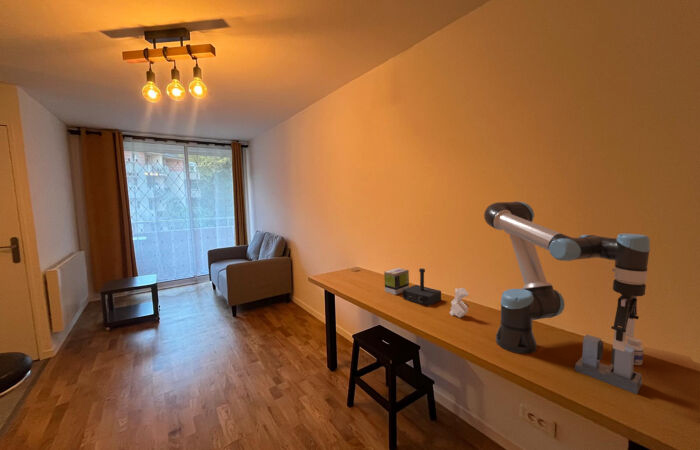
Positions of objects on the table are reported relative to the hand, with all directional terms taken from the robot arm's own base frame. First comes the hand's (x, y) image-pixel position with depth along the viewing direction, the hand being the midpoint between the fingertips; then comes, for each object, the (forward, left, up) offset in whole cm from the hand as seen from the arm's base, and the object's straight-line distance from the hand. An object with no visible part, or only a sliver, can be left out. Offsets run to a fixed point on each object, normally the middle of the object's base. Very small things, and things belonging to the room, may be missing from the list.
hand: (623, 342), depth 94 cm
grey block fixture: (-4, 0, -14) cm, 15 cm away
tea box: (-116, +12, -14) cm, 118 cm away
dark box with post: (-94, +11, -15) cm, 96 cm away
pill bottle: (0, +20, -14) cm, 24 cm away
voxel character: (-65, +7, -14) cm, 67 cm away
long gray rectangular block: (0, 0, -12) cm, 12 cm away
